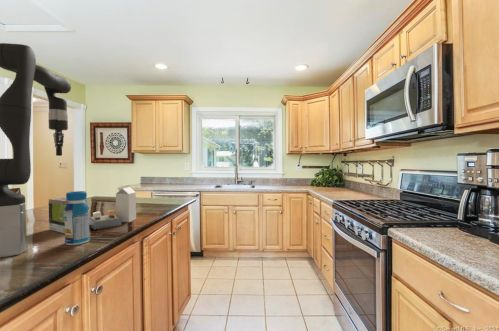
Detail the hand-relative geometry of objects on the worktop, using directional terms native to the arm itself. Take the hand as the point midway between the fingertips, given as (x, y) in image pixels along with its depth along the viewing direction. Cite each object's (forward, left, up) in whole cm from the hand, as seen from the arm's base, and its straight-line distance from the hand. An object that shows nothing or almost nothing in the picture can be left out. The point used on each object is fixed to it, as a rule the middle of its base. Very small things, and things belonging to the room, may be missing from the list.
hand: (59, 155), depth 128 cm
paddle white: (-10, -14, -30) cm, 34 cm away
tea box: (-7, -2, -35) cm, 36 cm away
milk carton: (-8, -28, -35) cm, 46 cm away
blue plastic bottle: (-34, -2, -35) cm, 49 cm away
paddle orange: (-10, -20, -30) cm, 37 cm away
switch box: (-10, -17, -35) cm, 40 cm away
